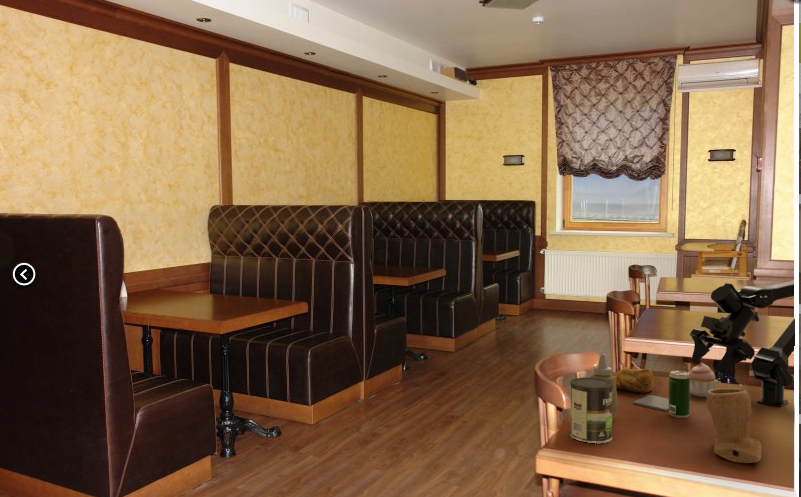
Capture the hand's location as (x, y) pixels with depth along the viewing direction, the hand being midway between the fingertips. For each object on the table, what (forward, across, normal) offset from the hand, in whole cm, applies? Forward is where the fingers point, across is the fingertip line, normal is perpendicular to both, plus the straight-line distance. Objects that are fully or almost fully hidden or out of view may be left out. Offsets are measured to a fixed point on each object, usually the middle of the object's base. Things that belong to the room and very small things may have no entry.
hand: (704, 366), depth 183 cm
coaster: (+14, -11, +4) cm, 18 cm away
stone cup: (+21, +26, -3) cm, 33 cm away
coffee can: (+37, +5, -21) cm, 43 cm away
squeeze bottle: (+30, -5, -13) cm, 33 cm away
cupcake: (+1, -14, +18) cm, 23 cm away
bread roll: (+12, -26, +7) cm, 30 cm away
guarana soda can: (+15, 0, +3) cm, 16 cm away
